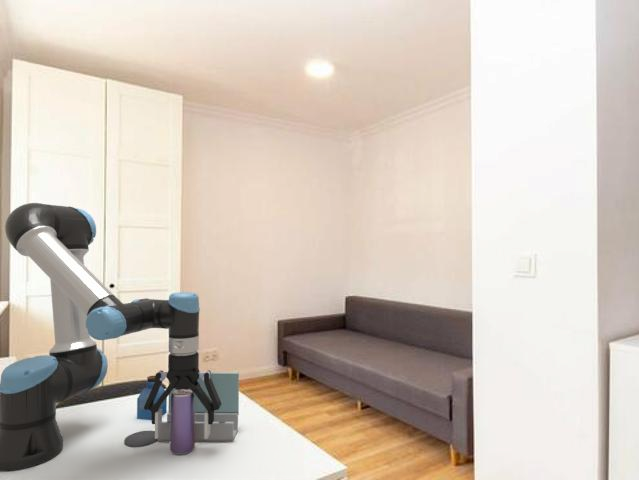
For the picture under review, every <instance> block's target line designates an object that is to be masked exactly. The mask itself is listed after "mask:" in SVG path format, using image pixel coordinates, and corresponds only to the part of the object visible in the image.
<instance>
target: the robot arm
mask: <svg viewBox="0 0 639 480" xmlns="http://www.w3.org/2000/svg"><path fill="white" fill-rule="evenodd" d="M4 226H5V227H4V229H5V235H6V237H7V240H8V242H9V244H10V245H11V247H12V248H13V249H14V250H15V251H17V253H18V254H20V255H21V256H23V257H29V258H30V260H32V261H33V262H34V263H35V264H36V265H37V267H38V268H40V269H41V271H42V272H43V273H44V274H45V275H46V276H47V277H48V278H49V279H50V282H49V283H50V292H51V305H52V316H53V317H52V319H53V320H52V321H53V332H54V345H53V346H52V348H50V350H48V351H49V353H48V354H49V355H45V354H44V355H36V356H34V357H26V358H23V359H20V360H17V361H15V362H12V363H11V364H9V365H8V366H6V367H5V368H4V369H3V370H2V372H1V375H0V471H1V472H2V471H5V472H6V471H7V472H8V471H16V470H22V469H27V468H30V467H35V466H38V465H40V464H43V463H45V462H47V461H50V460H51V459H53V458H55V457H56V456H57V455H59V454H60V453H62V451H63V449H64V437H63V435H62V433H61V430H60V426H59V424H58V421H57V418H56V415H57V404H59V403H61V402H63V401H65V400H69V399H71V398H74V397H76V396H79V395H81V394H82V395H83V394H86V393H88V392H90V391H91V390H92V389H95V388H96V387H98V386H99V385H101V383H102V382H103V381H104V379H105V378H106V375H107V373H108V365H109V364H108V359H107V356H106V354H104V351H102V349H100V348H97V345H98V344H97V342H96V341H95V340H97V341H105V340H106V341H107V340H114V339H117V338H120V337H123V336H127V335H129V334H133V333H138V332H142V331H146V330H149V329H164V330H167V329H168V353H169V354H168V358H167V359H168V363H167V364H168V366H167V367H168V371H164V370H159V371H158V372H157V373H155V375H154V376H155V383H154V385H153V387H152V390H151V392H150V394H149V397H148V399H147V401H146V403H145V406H144V409H145V410H150V411H151V412H152V420H150V422H151V424H152V425H154V431H155V439H158V438H159V437H160V436H161V434H162V422H163V415H162V409H159V410H158V408H159V407H160V406H161V404H162V403H163V402H164V400H165V399H166V398H167V399H168V397H169V394H170V392H171V391H172V390H173V389H174V388H175V389H176V390H180V389H184V390H188V389H191V391H192V392H194V393H195V394H196V396H197V397H198V399H199V400H200V401H201V403H202V404H203V405H204V407H205V408H206V409H207V411H206V412H205V432H204V439H208V437H209V435H210V424H212V423H213V422H214V411H215V410H218V409H219V408H220V406H221V405H222V404H221V401H220V399H219V396H218V394H217V391H216V389H215V387H214V384H213V382H212V379H211V373H212V371H211V370H208V369H207V371H200V369H199V368H200V367H199V366H200V365H199V364H200V363H199V361H200V353H199V352H198V351H199V349H200V347H199V345H200V335H199V334H200V333H199V332H200V331H199V330H200V329H199V325H200V324H199V323H200V311H201V308H200V300H199V298H200V297H199V294H197V292H191V291H190V292H188V291H187V292H186V291H185V292H184V291H183V292H182V291H181V292H179V291H178V292H173V293H170V295H169V296H168V299H154V298H153V299H151V298H146V297H145V298H137V299H136V298H135V299H133V300H132V301H131V302H127V303H123V302H122V301H121V300H120V299H119V298H118V297H116V295H115V294H114V293H112V291H110V289H109V288H107V287H106V286H105V285H104V283H102V282H101V281H100V279H98V277H97V276H96V275H95V274H94V273H92V271H91V270H90V269H88V267H87V266H86V265H85V262H84V261H85V260H84V259H85V258H84V257H85V255H86V254H87V253H88V252H89V249H90V248H89V246H90V245H91V244H92V243H93V242H94V240H95V239H94V238H96V236H97V235H96V234H97V225H96V223H95V220H94V218H93V216H92V215H91V214H90V213H88V211H86V210H84V209H82V208H76V207H74V206H71V205H70V206H69V205H68V206H66V205H65V206H64V205H54V204H47V203H39V202H31V203H25V204H22V205H20V206H18V207H16V208H15V209H13V211H11V212H10V214H9V215H8V217H7V218H6V221H5V225H4ZM93 339H95V340H93ZM199 377H201V378H202V380H203V381H204V383H205V386H206V389H207V391H208V393H209V396H210V398H211V400H210V399H209V397H208V396H207V395H206V393H205V392H204V391H203V389H202V388H201V386H200V384H199V382H198V381H197V380H198V378H199ZM165 379H167V380H168V386H167V387H166V388H165V389H164V390H165V391H164V393H163V394H162V395H161V397H160V398H159V399H158V401H157V402H156V403H155V404H153V402H154V400H155V398H156V395H157V393H158V391H159V388H160V386H162V384H163V381H165ZM169 382H170V384H169Z"/></svg>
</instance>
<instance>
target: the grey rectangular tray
mask: <svg viewBox="0 0 639 480" xmlns="http://www.w3.org/2000/svg"><path fill="white" fill-rule="evenodd" d="M238 431H239V415H238V413H214V422H213V423H212V424H210V435H209V437H208V439H204V432H205V413H195V443H233V442H234V440H235V438H236V435H237V433H238ZM170 435H171V413H169V412H167V413H166V421H162V434H161V436H160V437H159V440H158V442H159V443H170Z"/></svg>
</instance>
